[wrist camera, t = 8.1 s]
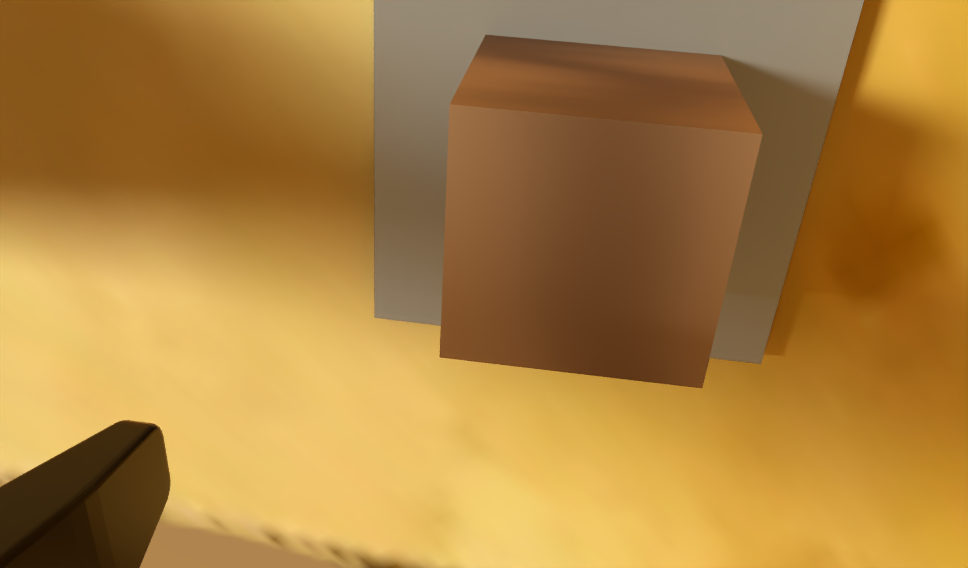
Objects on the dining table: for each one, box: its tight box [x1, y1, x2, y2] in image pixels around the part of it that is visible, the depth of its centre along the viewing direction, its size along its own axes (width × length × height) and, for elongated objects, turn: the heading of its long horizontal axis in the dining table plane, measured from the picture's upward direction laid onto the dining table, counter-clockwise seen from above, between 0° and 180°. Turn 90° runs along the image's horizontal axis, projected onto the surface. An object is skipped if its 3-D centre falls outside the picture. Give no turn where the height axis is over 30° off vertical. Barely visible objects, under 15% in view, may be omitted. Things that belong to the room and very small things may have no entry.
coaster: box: [374, 0, 864, 364], centre depth 19 cm, size 10×10×1 cm
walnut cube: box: [440, 35, 763, 388], centre depth 17 cm, size 5×5×5 cm
